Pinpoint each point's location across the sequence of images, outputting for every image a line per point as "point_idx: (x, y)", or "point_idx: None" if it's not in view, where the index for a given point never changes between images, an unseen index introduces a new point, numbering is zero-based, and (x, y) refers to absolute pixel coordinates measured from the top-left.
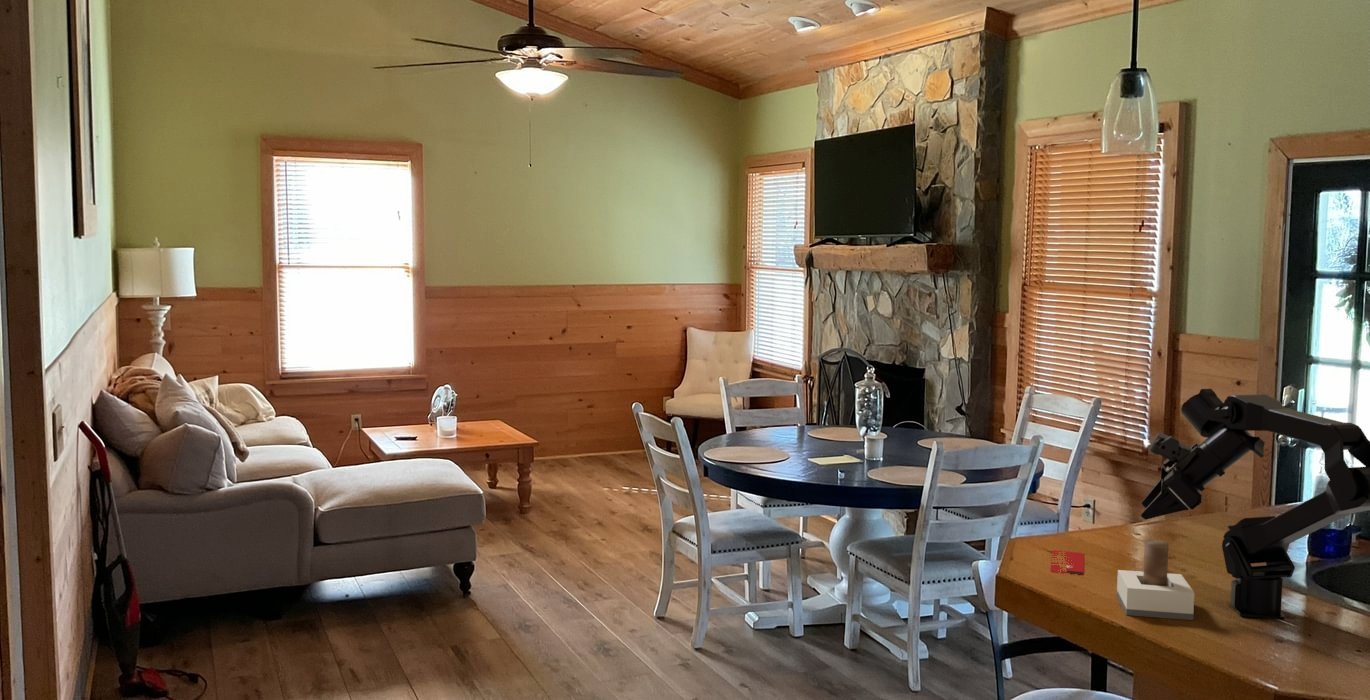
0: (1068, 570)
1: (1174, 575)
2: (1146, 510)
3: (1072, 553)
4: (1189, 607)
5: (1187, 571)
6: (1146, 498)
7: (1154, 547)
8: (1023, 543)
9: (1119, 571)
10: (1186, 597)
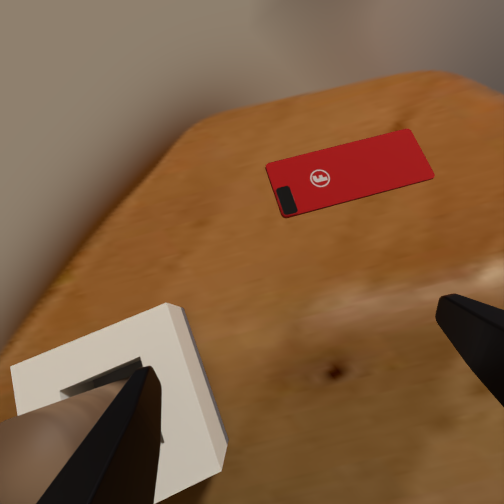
0: (290, 187)
1: (195, 455)
2: (105, 415)
3: (415, 161)
4: None
5: (477, 401)
6: (477, 320)
7: None
8: (413, 79)
9: (154, 309)
10: None
